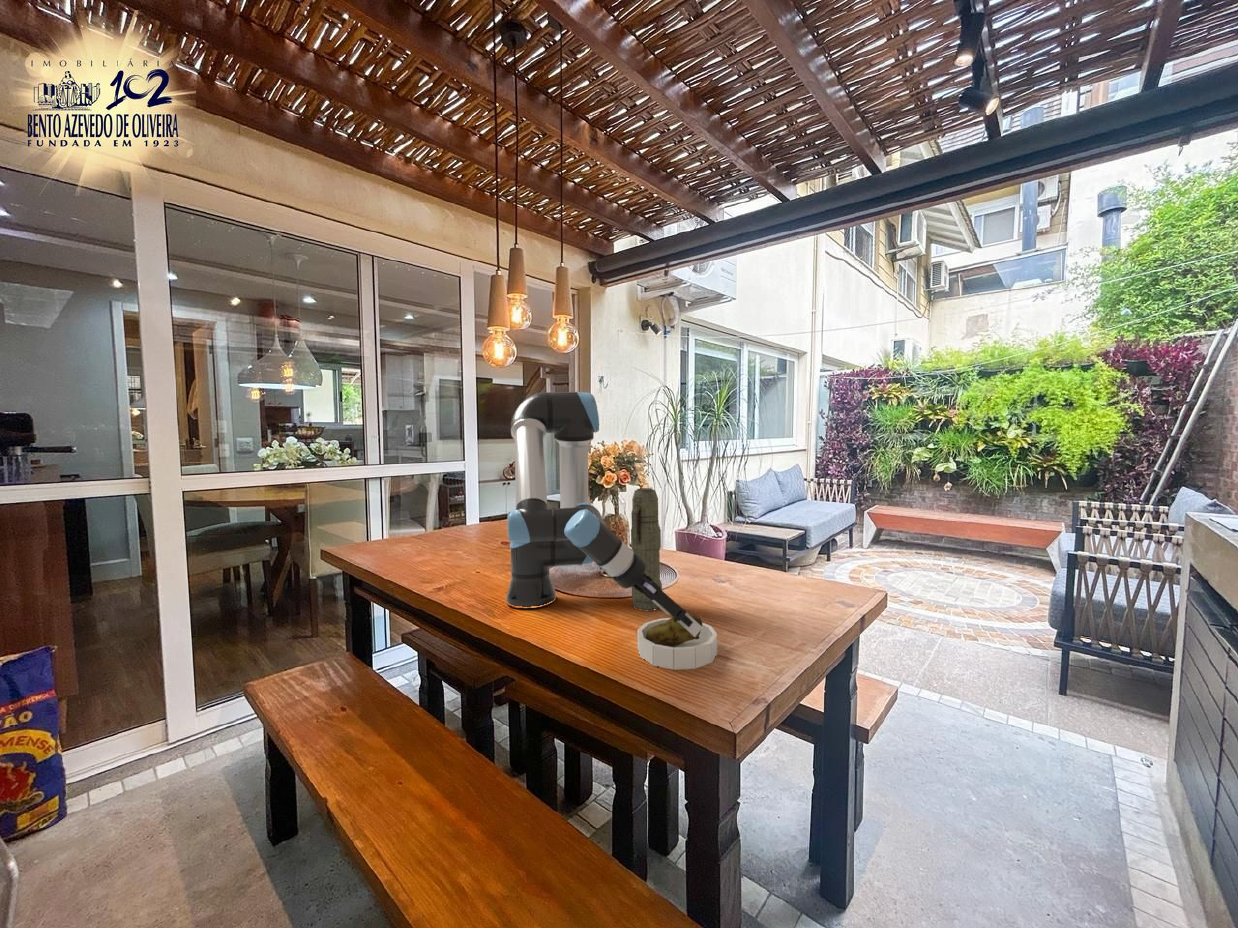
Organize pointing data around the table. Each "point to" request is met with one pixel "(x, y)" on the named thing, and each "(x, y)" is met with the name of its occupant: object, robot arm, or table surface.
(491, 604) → the table surface
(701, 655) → the bowl
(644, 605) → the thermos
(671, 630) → the potato
